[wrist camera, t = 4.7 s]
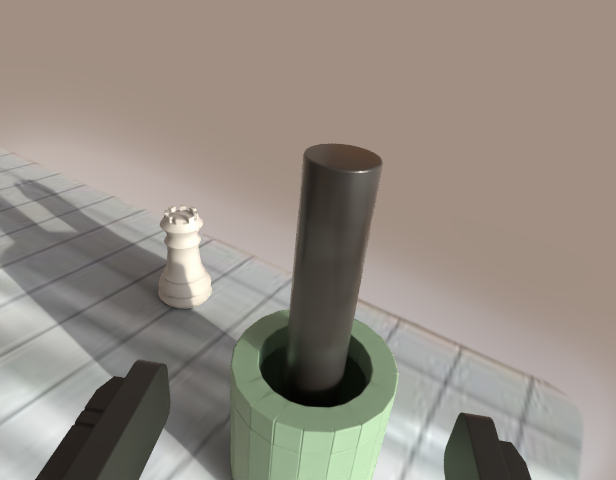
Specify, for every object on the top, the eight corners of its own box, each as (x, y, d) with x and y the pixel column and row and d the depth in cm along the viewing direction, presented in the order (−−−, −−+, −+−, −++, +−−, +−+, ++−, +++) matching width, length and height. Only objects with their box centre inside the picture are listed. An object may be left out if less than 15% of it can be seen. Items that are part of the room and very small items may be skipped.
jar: (204, 501, 23) (200, 398, 19) (262, 387, 30) (268, 293, 26) (356, 558, 22) (385, 458, 18) (380, 423, 28) (405, 329, 25)
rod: (257, 472, 24) (274, 162, 15) (281, 414, 28) (308, 133, 19) (327, 496, 23) (389, 184, 15) (343, 434, 27) (402, 150, 18)
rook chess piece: (196, 274, 41) (193, 195, 37) (222, 299, 38) (221, 216, 34) (149, 290, 38) (140, 207, 34) (173, 318, 35) (166, 231, 31)
